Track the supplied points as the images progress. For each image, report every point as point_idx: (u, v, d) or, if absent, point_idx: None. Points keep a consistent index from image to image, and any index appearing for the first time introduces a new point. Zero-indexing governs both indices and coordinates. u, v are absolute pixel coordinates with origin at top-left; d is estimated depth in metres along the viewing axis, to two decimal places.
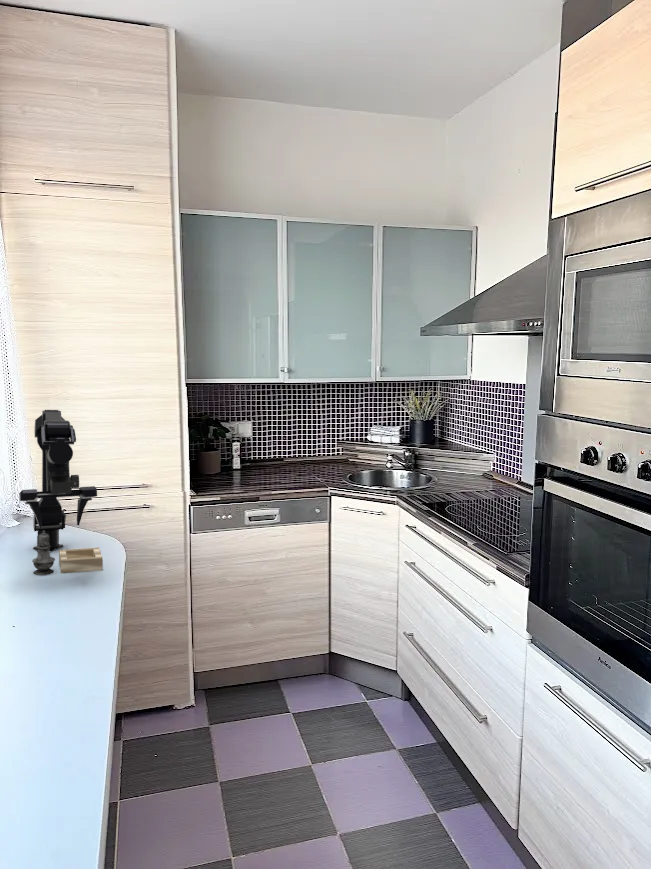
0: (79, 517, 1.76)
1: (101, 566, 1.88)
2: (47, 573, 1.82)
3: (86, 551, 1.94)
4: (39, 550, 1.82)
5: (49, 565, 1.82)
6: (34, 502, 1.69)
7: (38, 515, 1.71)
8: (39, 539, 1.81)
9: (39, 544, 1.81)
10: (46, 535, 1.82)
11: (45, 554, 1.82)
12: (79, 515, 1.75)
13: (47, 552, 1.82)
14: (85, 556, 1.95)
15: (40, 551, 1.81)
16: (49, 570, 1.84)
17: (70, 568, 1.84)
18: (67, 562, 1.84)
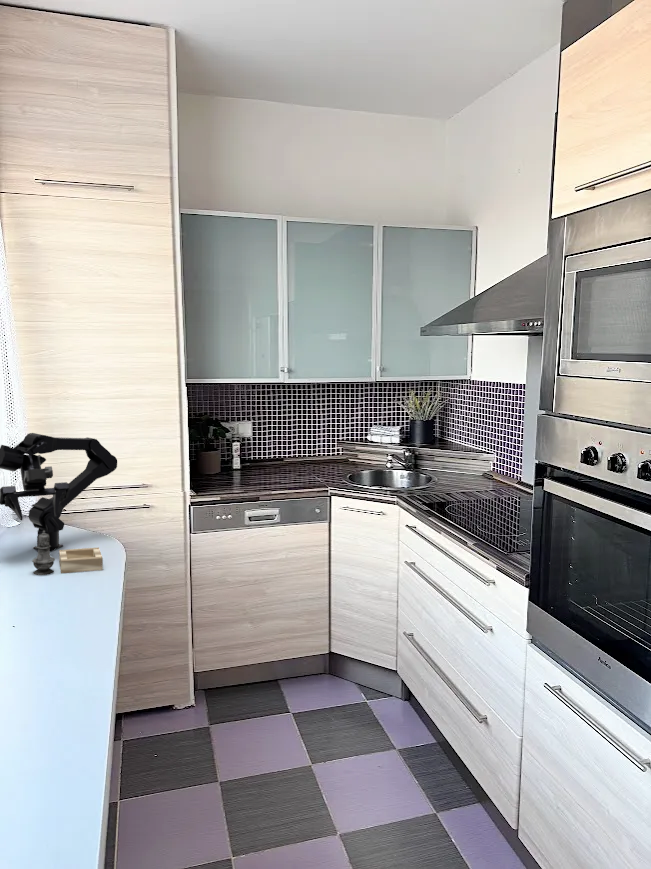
0: (56, 508, 1.92)
1: (101, 566, 1.88)
2: (47, 573, 1.82)
3: (86, 551, 1.94)
4: (39, 550, 1.82)
5: (49, 565, 1.82)
6: (13, 494, 1.87)
7: (18, 507, 1.87)
8: (39, 539, 1.81)
9: (39, 544, 1.81)
10: (46, 535, 1.82)
11: (45, 554, 1.82)
12: (56, 506, 1.92)
13: (47, 552, 1.82)
14: (85, 556, 1.95)
15: (40, 551, 1.81)
16: (49, 570, 1.84)
17: (70, 568, 1.84)
18: (67, 562, 1.84)
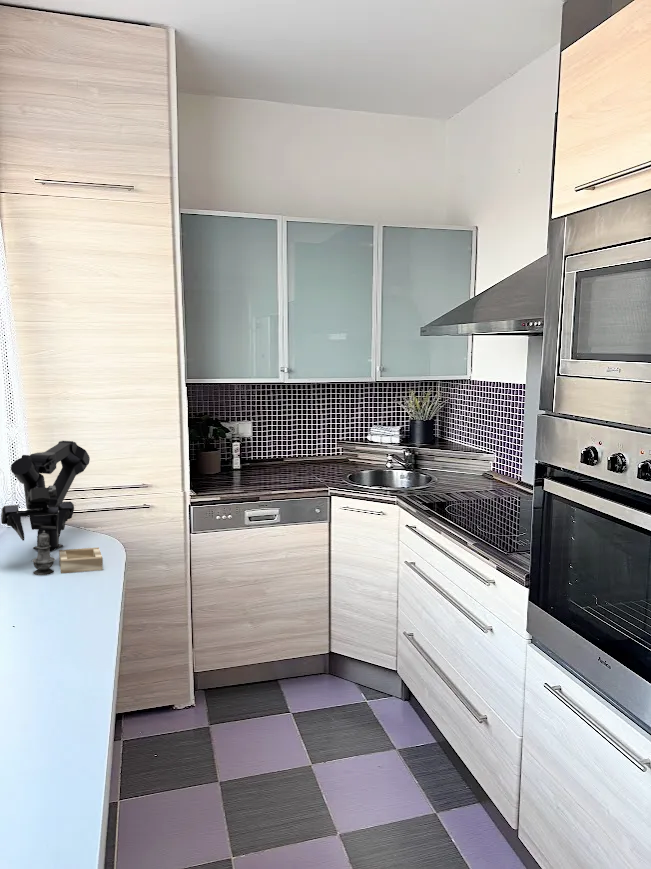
0: (59, 528, 1.87)
1: (101, 566, 1.88)
2: (47, 573, 1.82)
3: (86, 551, 1.94)
4: (39, 550, 1.82)
5: (49, 565, 1.82)
6: (16, 514, 1.82)
7: (20, 527, 1.82)
8: (39, 539, 1.81)
9: (39, 544, 1.81)
10: (46, 535, 1.82)
11: (45, 554, 1.82)
12: (59, 526, 1.87)
13: (47, 552, 1.82)
14: (85, 556, 1.95)
15: (40, 551, 1.81)
16: (49, 570, 1.84)
17: (70, 568, 1.84)
18: (67, 562, 1.84)
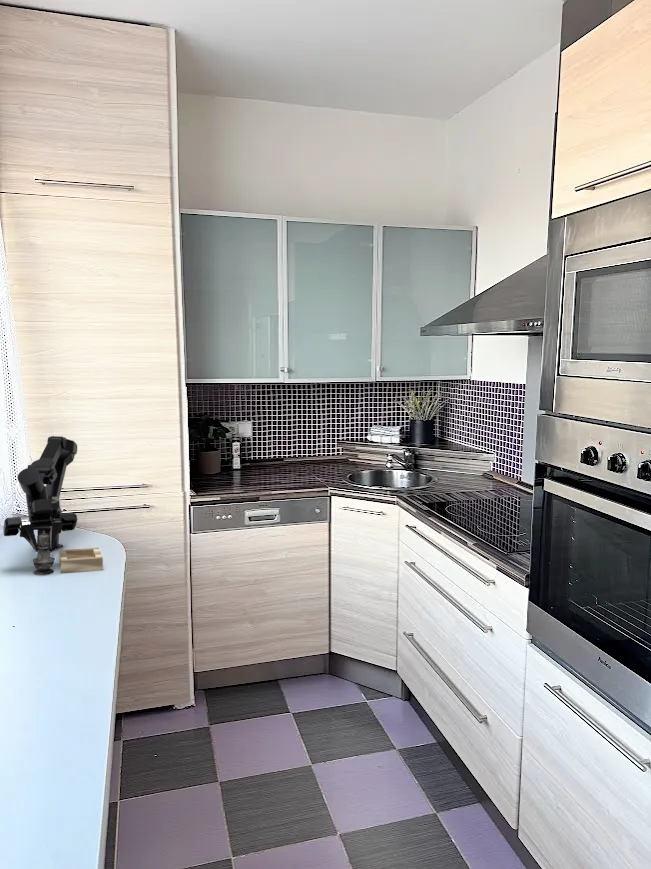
0: (52, 541, 1.83)
1: (101, 566, 1.88)
2: (47, 573, 1.82)
3: (86, 551, 1.94)
4: (39, 550, 1.81)
5: (49, 565, 1.82)
6: (29, 525, 1.81)
7: (33, 538, 1.81)
8: (39, 539, 1.81)
9: (39, 544, 1.81)
10: (46, 535, 1.82)
11: (45, 554, 1.82)
12: (52, 539, 1.83)
13: (47, 552, 1.82)
14: (85, 556, 1.95)
15: (40, 551, 1.81)
16: (49, 570, 1.84)
17: (70, 568, 1.84)
18: (67, 562, 1.84)
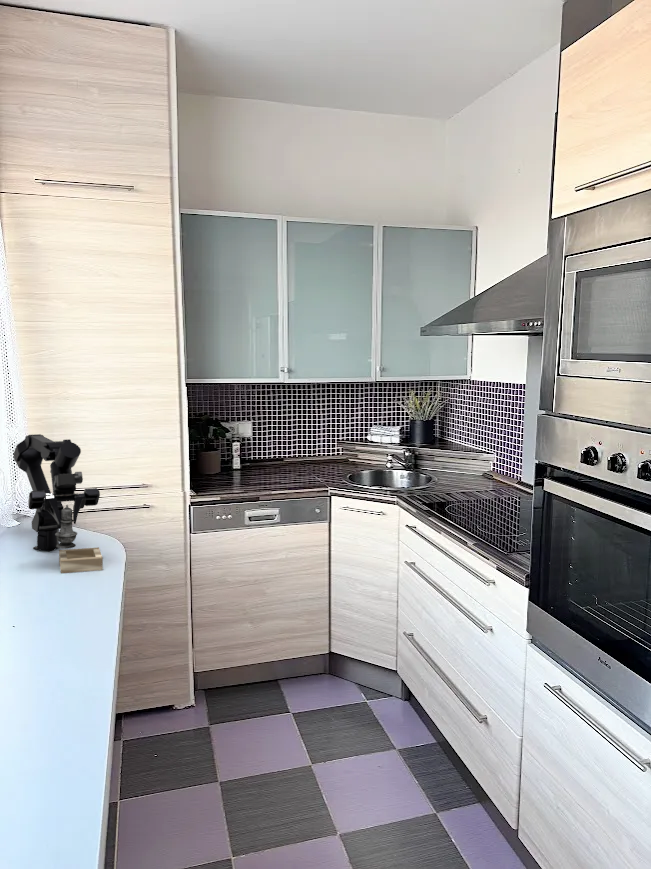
0: (75, 515, 1.87)
1: (101, 566, 1.88)
2: (69, 547, 1.86)
3: (86, 551, 1.94)
4: (62, 524, 1.85)
5: (71, 539, 1.86)
6: (52, 499, 1.85)
7: (57, 512, 1.85)
8: (62, 513, 1.85)
9: (62, 518, 1.85)
10: (69, 509, 1.85)
11: (68, 528, 1.86)
12: (75, 513, 1.87)
13: (70, 526, 1.86)
14: (85, 556, 1.95)
15: (63, 525, 1.85)
16: (71, 544, 1.87)
17: (70, 568, 1.84)
18: (67, 562, 1.84)
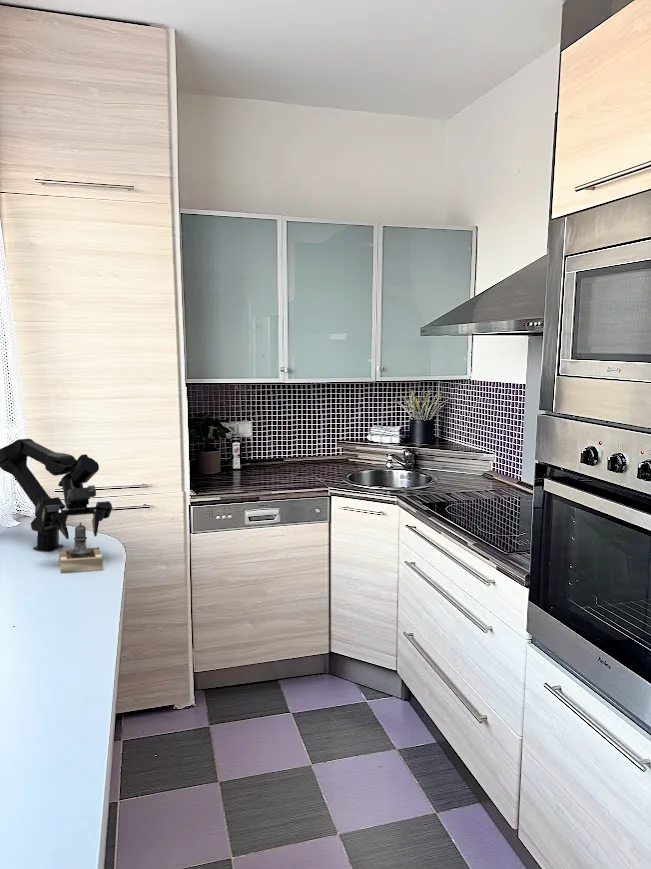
0: (96, 528, 1.91)
1: (101, 566, 1.88)
2: None
3: None
4: (76, 541, 1.89)
5: (86, 556, 1.89)
6: (60, 513, 1.87)
7: (64, 526, 1.87)
8: (76, 531, 1.88)
9: (76, 536, 1.89)
10: (83, 527, 1.89)
11: (82, 546, 1.89)
12: (96, 526, 1.91)
13: (84, 543, 1.89)
14: None
15: (77, 543, 1.88)
16: None
17: (70, 568, 1.84)
18: (67, 562, 1.84)
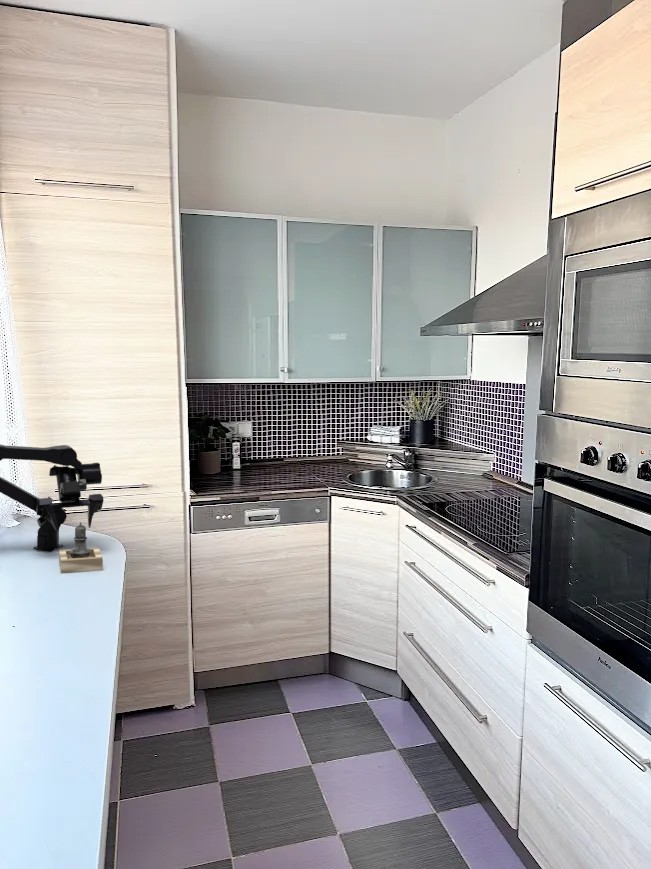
0: (90, 519, 1.99)
1: (101, 566, 1.88)
2: None
3: None
4: (76, 541, 1.89)
5: (86, 556, 1.89)
6: (49, 506, 1.95)
7: (54, 519, 1.95)
8: (76, 531, 1.88)
9: (76, 536, 1.89)
10: (83, 527, 1.89)
11: (82, 546, 1.89)
12: (90, 518, 1.99)
13: (84, 543, 1.89)
14: None
15: (77, 543, 1.88)
16: None
17: (70, 568, 1.84)
18: (67, 562, 1.84)
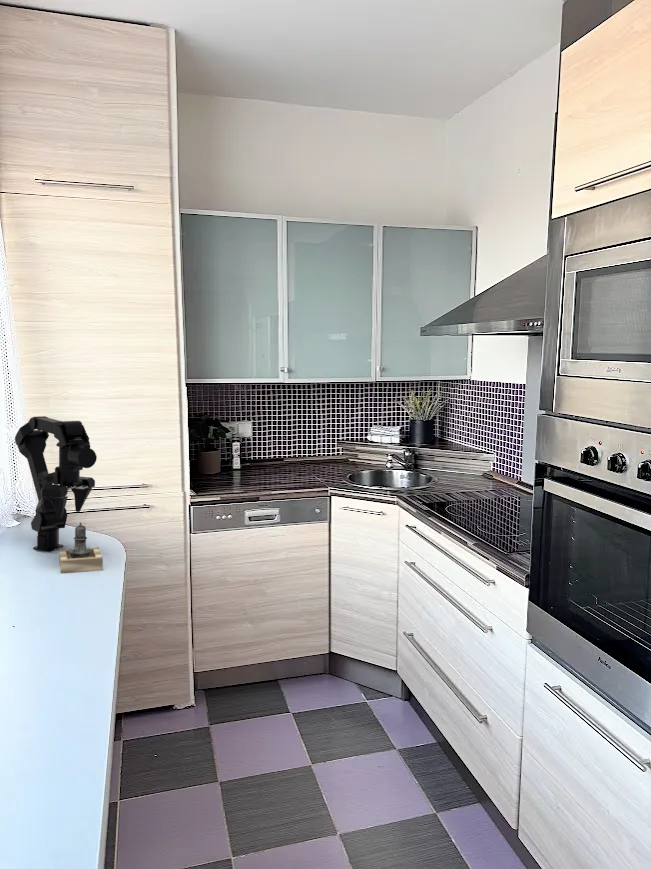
0: None
1: (101, 566, 1.88)
2: None
3: None
4: (76, 541, 1.89)
5: (86, 556, 1.89)
6: None
7: None
8: (76, 531, 1.88)
9: (76, 536, 1.89)
10: (83, 527, 1.89)
11: (82, 546, 1.89)
12: None
13: (84, 543, 1.89)
14: None
15: (77, 543, 1.88)
16: None
17: (70, 568, 1.84)
18: (67, 562, 1.84)
